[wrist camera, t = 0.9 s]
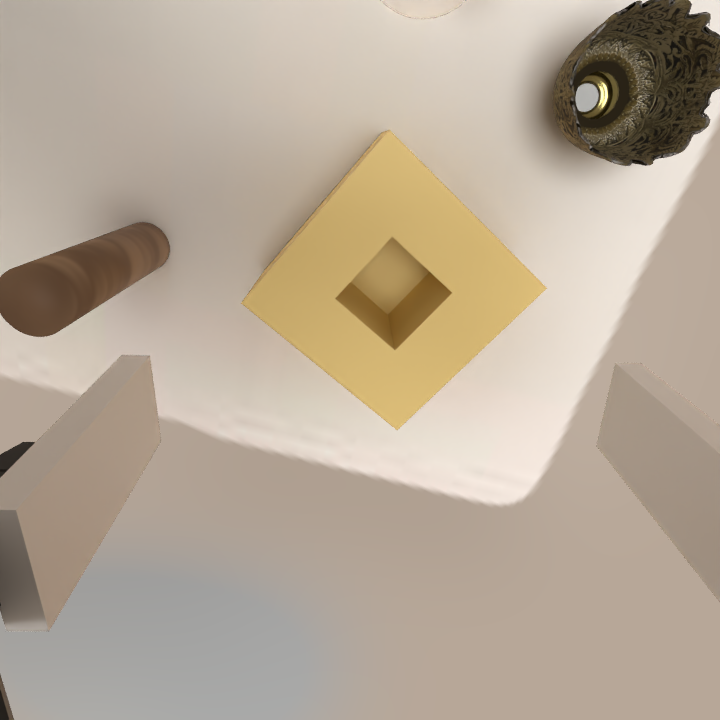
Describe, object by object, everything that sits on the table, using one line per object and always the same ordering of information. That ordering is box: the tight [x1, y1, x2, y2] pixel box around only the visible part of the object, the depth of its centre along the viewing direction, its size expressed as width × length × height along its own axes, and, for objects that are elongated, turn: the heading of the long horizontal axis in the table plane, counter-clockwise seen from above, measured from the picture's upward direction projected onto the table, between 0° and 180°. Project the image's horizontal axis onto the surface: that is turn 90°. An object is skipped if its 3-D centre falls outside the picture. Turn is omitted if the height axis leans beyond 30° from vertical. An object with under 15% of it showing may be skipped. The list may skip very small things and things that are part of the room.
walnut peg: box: [0, 222, 170, 337], centre depth 30 cm, size 3×3×14 cm
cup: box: [553, 0, 720, 166], centre depth 30 cm, size 8×7×8 cm
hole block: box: [241, 130, 547, 430], centre depth 34 cm, size 12×12×8 cm
